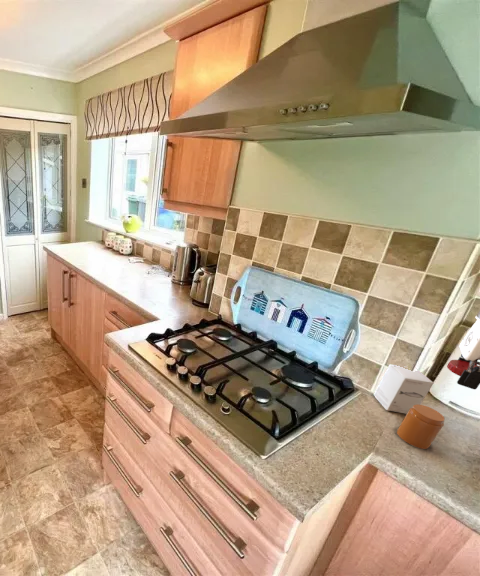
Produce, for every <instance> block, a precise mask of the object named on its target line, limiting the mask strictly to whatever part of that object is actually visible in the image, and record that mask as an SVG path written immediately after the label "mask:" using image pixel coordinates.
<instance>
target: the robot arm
mask: <svg viewBox="0 0 480 576" xmlns="http://www.w3.org/2000/svg"><path fill="white" fill-rule="evenodd" d="M474 317H475V319H476V320H475V322H474V323H473V324H472V326H471V327H470V329H469V330H468V332H466V334H465V336H464V337H463V338H462V340H461V342H460V343H459V347H458V348H459V350H460V353H461V355H460V356H459V357H458V359H457V360H461V361H466V362H469V363H470V364H469V366H468V369H467V370H464V371H463V373H462V375H461V376H459V378H458V379H457V381H456V383H457V384H458V385H460V386H462V387H465V388H468V389H471V390H477V389H478V388H479V386H480V309H479V310H478V311H477V313H476V315H475V316H474ZM474 365H478V366H479V367H478V366H476V367H474ZM473 367H474V368H473Z"/></svg>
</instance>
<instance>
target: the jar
mask: <svg viewBox="0 0 480 576" xmlns="http://www.w3.org/2000/svg"><path fill="white" fill-rule="evenodd" d="M444 422H445V417H444V416H443V414H442V413H441V412H440V411H437V410H436V409H434V408H432V407H429V406H427V405H424V404H420V405H419V404H417V405H413V408H410V409H409V411H408V413H407V414H405V416H404V417H403V420H402V421H401V423H400V425H399V426H398V428H397V430H396V434H397V436H398V437H399V438H400V439H401V440H402V441H404V442H406V443H407V444H409V445H411V446H413V447H415V448H417V449H421V450H429V449H430V447H431V446H432V444H433V443H434V442H435V440H436V438H437V436H438V435H439V434H440V432H441V431H442V429H443V428H444V426H445V423H444Z"/></svg>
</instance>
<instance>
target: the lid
mask: <svg viewBox="0 0 480 576" xmlns="http://www.w3.org/2000/svg"><path fill="white" fill-rule="evenodd" d="M469 364H470V363H469V362H466V361H461V360H458V359H451V360H449V361H448V363H447V365H446V367H447V369H448V370H449V371H450V372H451V373H453V374H454V375H457V376H459V377H460V376H461V375H462V373H463V371H464V370H467V369H468V366H469ZM476 366H478V367H479V365H474V367H476ZM474 367H473V368H474Z"/></svg>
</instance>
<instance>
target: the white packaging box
mask: <svg viewBox="0 0 480 576" xmlns="http://www.w3.org/2000/svg"><path fill="white" fill-rule="evenodd" d="M400 366H401V365H398V366H397V365H396V364H391V363H389V364H388V366H387V368H386V370H385V372H384V374H383V375H382V377H381V380H380V381H379V383H378V385H377V387H376V389H375V391H374V393H373V396H374V398H375V399H376V400H377V401H378V402H379V404H380V405H381V406H382V407H383V409H385V410H386V411H389V412H396V413H400V414H405V415H406V414H407V413H408V411H409V409H410V408H413V405H417V404H419V405H422V403H423V401H424V400H425V398H426V396H427V395H428V393H429V392H430V390H431V388H432V387H433V384H434V381H432V380H431V379H430V378H429V377H428V376H426V375H425V374H424V373H422V371H420V370H419V369H417V370H418V371H415V372H413V371H411V370H408V369H405V368H403V367H400Z"/></svg>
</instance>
